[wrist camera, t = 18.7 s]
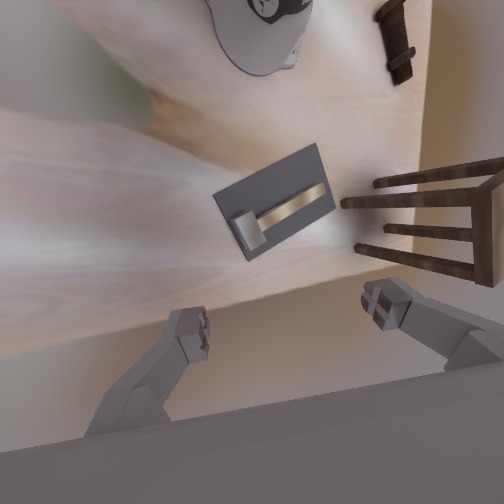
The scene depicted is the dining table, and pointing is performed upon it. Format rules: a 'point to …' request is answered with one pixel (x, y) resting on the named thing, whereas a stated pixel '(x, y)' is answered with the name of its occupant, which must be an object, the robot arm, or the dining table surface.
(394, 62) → the bolt
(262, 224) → the hammer
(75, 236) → the dining table surface
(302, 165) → the mat
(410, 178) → the stool
